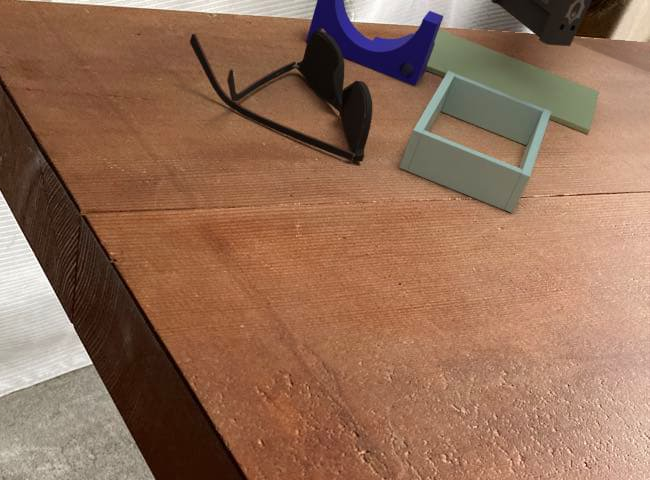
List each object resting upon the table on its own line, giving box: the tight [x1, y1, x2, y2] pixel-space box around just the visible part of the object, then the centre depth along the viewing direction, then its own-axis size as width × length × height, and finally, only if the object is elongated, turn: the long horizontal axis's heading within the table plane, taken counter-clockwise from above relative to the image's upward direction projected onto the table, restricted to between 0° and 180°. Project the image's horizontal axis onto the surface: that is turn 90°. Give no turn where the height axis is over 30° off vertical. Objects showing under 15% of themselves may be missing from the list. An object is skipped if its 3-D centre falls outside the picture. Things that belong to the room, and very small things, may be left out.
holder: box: [398, 71, 551, 214], centre depth 89 cm, size 11×16×4 cm, turn 160°
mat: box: [425, 28, 600, 135], centre depth 106 cm, size 20×12×1 cm, turn 70°
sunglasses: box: [189, 30, 373, 162], centre depth 85 cm, size 17×14×5 cm
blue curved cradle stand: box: [305, 0, 444, 87], centre depth 99 cm, size 12×4×6 cm, turn 70°
